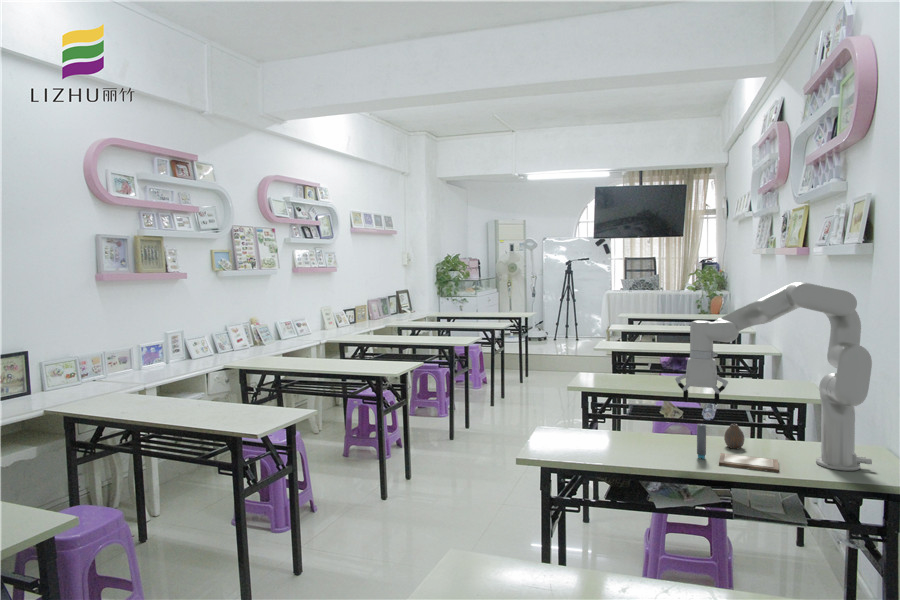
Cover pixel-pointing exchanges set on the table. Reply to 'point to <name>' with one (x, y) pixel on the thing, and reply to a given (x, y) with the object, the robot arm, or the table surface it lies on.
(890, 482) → the table surface
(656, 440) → the table surface
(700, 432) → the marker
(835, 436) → the robot arm
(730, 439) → the vase
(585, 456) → the table surface
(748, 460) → the brown picture frame
